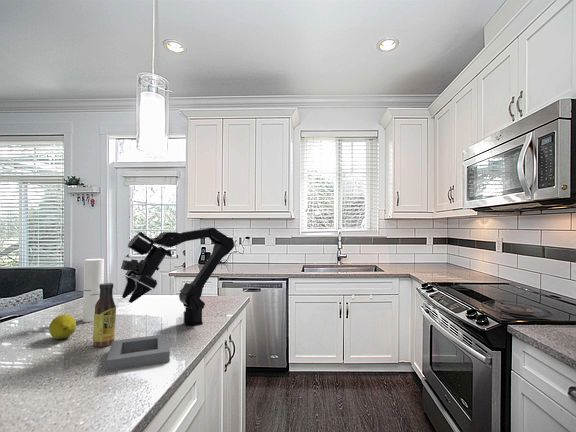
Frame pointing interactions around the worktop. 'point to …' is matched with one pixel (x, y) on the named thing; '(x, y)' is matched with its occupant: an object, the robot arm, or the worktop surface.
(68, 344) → the worktop surface
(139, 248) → the robot arm
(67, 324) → the lemon
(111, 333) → the sauce bottle
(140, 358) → the socket frame
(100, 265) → the cylindrical container
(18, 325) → the worktop surface
